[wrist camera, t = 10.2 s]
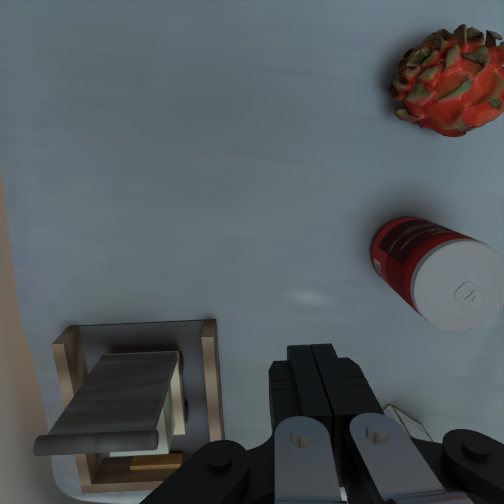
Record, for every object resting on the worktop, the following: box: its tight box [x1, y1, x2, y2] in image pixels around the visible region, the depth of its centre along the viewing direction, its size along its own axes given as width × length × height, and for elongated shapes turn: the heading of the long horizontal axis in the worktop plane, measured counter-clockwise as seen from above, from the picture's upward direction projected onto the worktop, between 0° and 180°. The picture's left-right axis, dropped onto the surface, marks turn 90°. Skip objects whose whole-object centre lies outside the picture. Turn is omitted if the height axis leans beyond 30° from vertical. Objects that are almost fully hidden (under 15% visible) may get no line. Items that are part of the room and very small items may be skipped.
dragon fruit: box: [388, 24, 504, 137], centre depth 32 cm, size 8×8×12 cm
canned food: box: [371, 217, 504, 331], centre depth 35 cm, size 8×8×11 cm
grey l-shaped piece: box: [33, 351, 189, 457], centre depth 36 cm, size 11×9×15 cm
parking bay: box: [52, 319, 225, 493], centre depth 42 cm, size 19×16×4 cm
